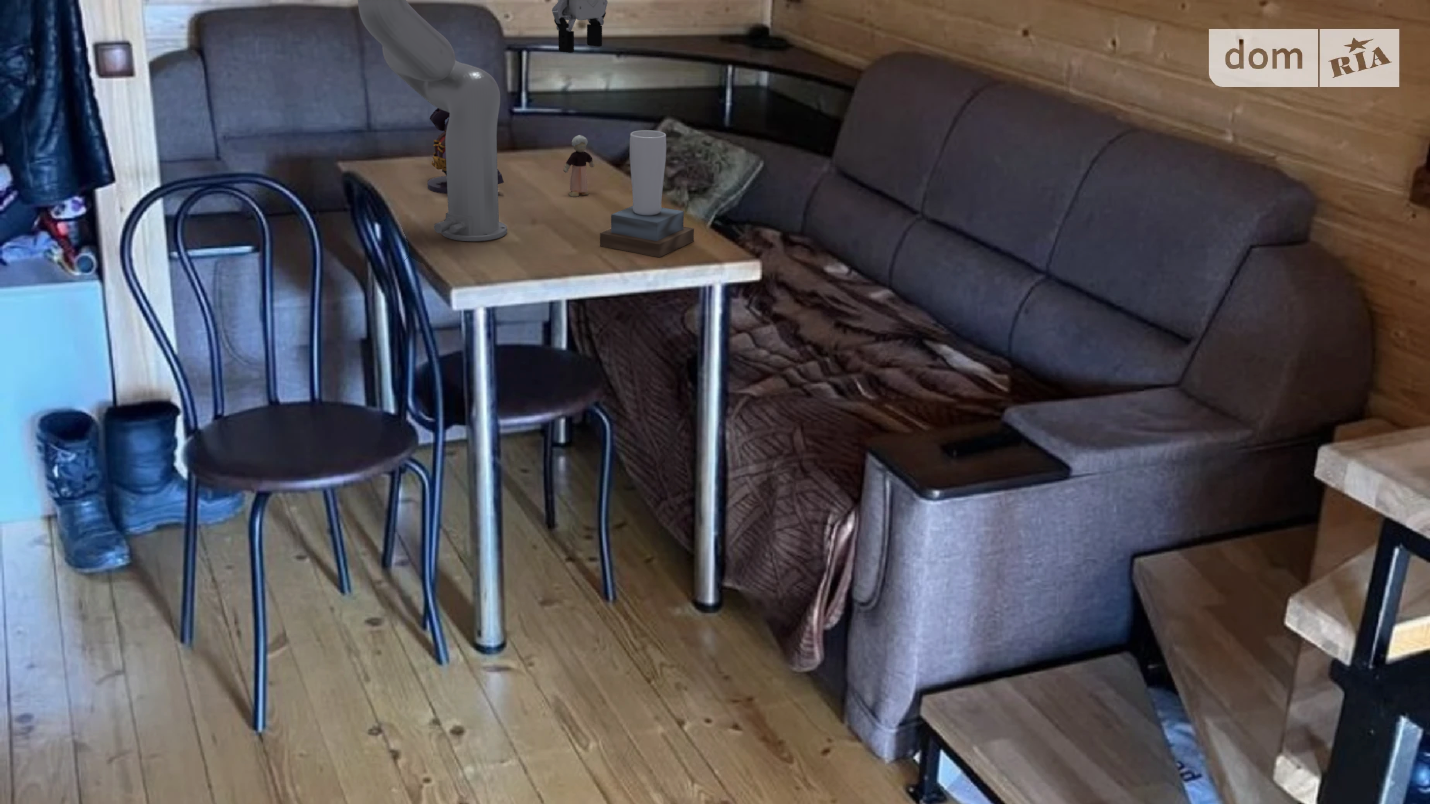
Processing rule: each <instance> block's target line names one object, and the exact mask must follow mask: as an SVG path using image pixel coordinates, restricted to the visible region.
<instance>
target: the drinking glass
mask: <svg viewBox="0 0 1430 804" xmlns="http://www.w3.org/2000/svg"><path fill="white" fill-rule="evenodd" d="M629 135H630V137H629V162H630V163H629V165H630V166H629V167H630V179H631V191H632V206H633V211H634V212H635V213H636V214H639V215H646V216H649V215H656V214H659V213H660V212H661V207H662V197H663V196H662V195H663V189H664V187H663V186H664V180H665V179H664V178H665V169H666V168H665V167H666V159H667V158H666V157H667V134H666V133H665V132H663V131H659V130H652V129H651V130H650V129H648V130H647V129H645V130H644V129H643V130H634V131H632V132H630V134H629Z"/></svg>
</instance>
